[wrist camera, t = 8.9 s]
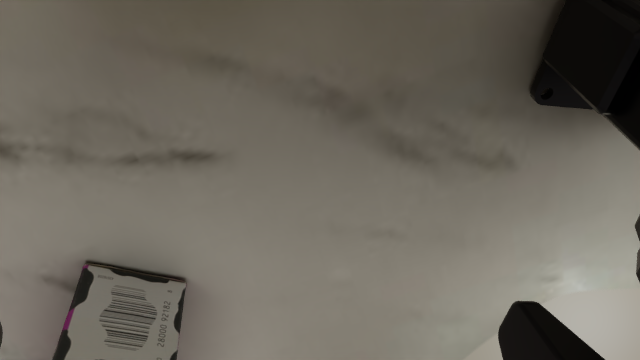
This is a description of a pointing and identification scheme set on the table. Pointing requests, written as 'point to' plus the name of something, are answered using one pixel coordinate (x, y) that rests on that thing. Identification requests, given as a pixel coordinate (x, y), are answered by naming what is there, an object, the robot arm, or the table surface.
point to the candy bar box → (122, 316)
